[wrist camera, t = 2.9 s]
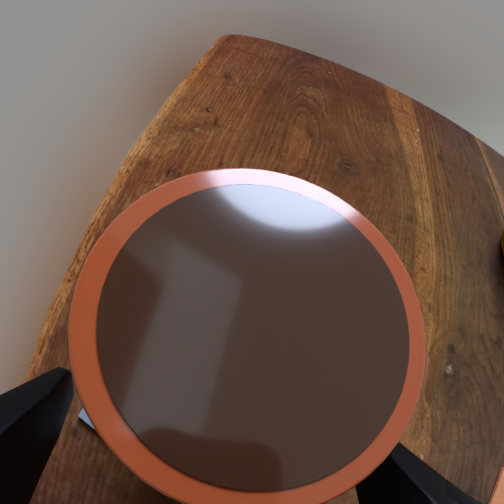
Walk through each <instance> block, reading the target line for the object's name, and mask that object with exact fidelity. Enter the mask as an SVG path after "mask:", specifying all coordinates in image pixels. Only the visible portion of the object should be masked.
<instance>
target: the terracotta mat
mask: <svg viewBox="0 0 504 504" xmlns="http://www.w3.org/2000/svg"><path fill="white" fill-rule="evenodd" d="M488 504H504V467H501V470H500V473H499V476H498V478H497V481H496V484H495V487H494V489H493V492H492V495H491V497H490V500H489V502H488Z"/></svg>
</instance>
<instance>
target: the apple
mask: <svg viewBox="0 0 504 504" xmlns="http://www.w3.org/2000/svg"><path fill="white" fill-rule="evenodd" d="M501 247H502V252H503V255H504V229H503V232H502V236H501Z"/></svg>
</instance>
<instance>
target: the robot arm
mask: <svg viewBox="0 0 504 504" xmlns="http://www.w3.org/2000/svg"><path fill="white" fill-rule="evenodd" d="M73 394H74V388H73V379H72V373H71V371H69V370H67V369H64V368H62V367H57V368H55V369H53V370H51V371H49V372H47V373H45V374H43V375H41V376H38V377H36V378H34V379H32V380H30V381H28V382H26V383H24V384H22V385H20V386H18V387H16V388H14V389H12V390H10V391H8V392H5V393H3V394H1V395H0V504H29V503H30V500H31V498H32V495H33V493H34V491H35V488H36V486H37V484H38V481H39V479H40V477H41V475H42V472H43V470H44V468H45V466H46V463H47V461H48V459H49V457H50V455H51V453H52V450H53V448H54V446H55V444H56V442H57V440H58V437H59V435H60V432H61V430H62V427H63V424H64V421H65V418H66V415H67V412H68V409H69V406H70V404H71V401H72V398H73ZM355 487H356V491H357V496H358V501H359V504H482V503H481V502H479V501H477V500H476V499H474V498H472V497H471V496H469V495H467V494H466V493H464V492H463V491H461V490H460V489H459V488H457V487H456V486H454V485H453V484H452V483H450V482H449V481H448V480H445V478H444V477H442V476H441V475H440V474H439V473H437V472H436V471H435V470H433V469H432V468H431V467H430V466H428V465H427V464H426V463H424V462H423V461H422V460H421V459H419V458H418V457H417V456H416V455H414V454H413V453H412V452H411V451H409V450H408V449H407V448H406V447H404V446H403V445H402V444H401V443H399V442H398V443H397V445H396V446H395V447H394V449H393V450H392V451H391V453H390V454H389V455H388V456H387V458H386V459H385V460H384V461H383V462H382V463H381V464H380V465H379V466H378V467H377V468H376V469H375V470H374V471H373V472H372V473H371V474H370V475H369V476H368V477H367V478H365V479H364V480H363V481H361V482H360V483H359V484H357V485H356V486H355Z"/></svg>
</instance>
